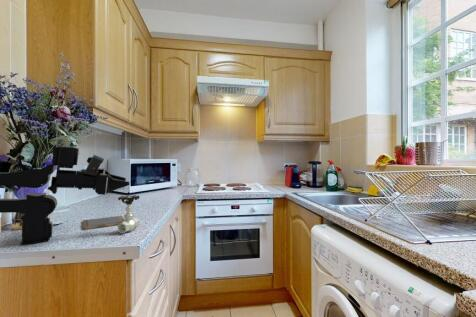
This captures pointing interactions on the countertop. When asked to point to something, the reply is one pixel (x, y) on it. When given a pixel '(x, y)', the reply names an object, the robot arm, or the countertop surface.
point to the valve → (128, 215)
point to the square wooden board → (102, 222)
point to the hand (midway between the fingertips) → (127, 181)
